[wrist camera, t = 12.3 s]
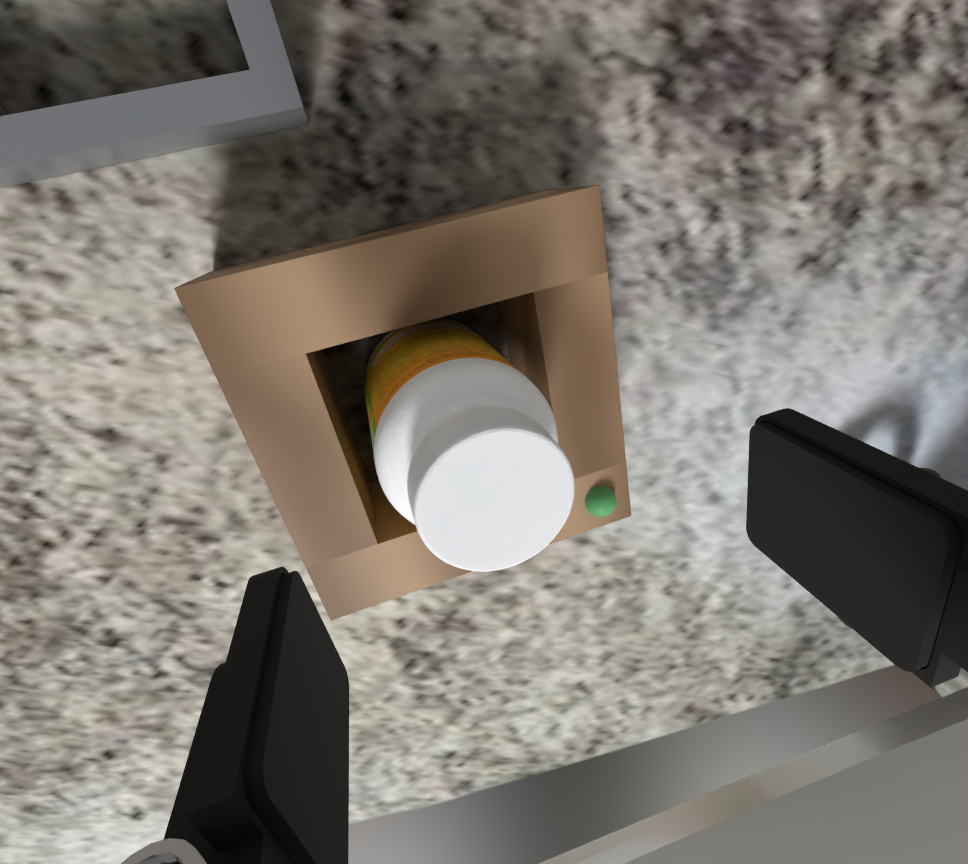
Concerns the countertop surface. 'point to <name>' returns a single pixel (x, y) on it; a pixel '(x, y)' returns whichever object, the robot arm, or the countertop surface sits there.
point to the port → (392, 305)
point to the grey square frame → (160, 112)
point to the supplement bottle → (465, 446)
